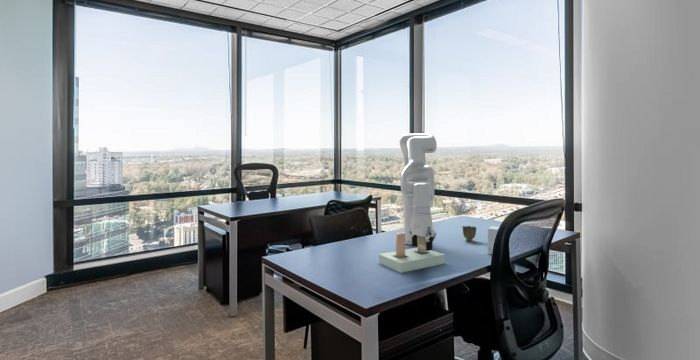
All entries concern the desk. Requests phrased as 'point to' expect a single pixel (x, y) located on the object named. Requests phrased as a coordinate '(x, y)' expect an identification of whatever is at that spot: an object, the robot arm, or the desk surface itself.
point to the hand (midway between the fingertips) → (422, 247)
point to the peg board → (411, 260)
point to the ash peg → (422, 245)
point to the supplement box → (491, 237)
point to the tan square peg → (400, 245)
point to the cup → (469, 233)
